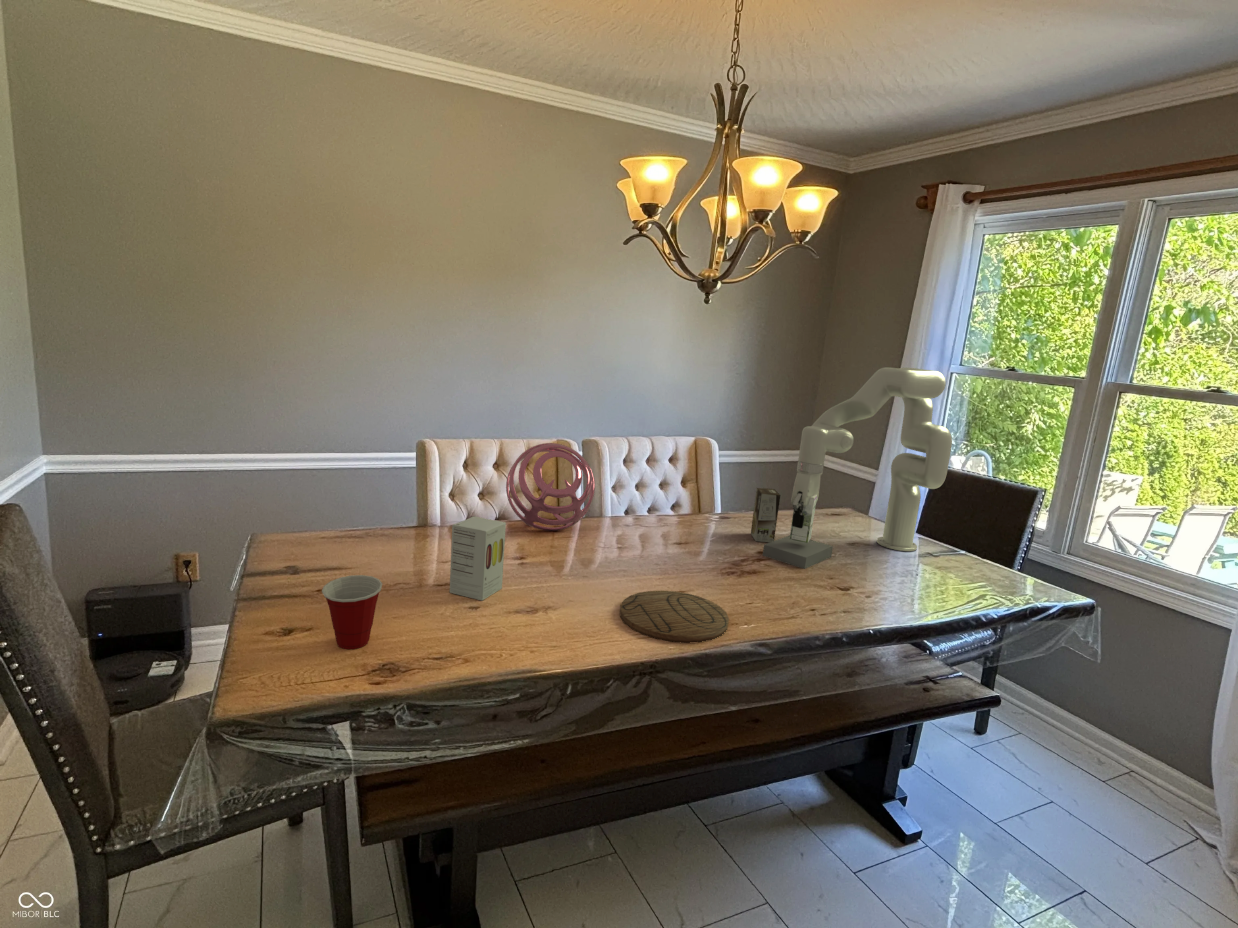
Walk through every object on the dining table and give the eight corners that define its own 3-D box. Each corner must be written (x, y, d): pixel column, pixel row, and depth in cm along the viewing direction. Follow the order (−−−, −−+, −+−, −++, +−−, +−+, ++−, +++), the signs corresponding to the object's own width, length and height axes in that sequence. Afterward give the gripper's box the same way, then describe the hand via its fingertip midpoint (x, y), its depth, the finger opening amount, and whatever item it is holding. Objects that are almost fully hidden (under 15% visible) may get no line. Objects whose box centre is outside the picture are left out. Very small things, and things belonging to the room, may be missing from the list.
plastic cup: (308, 647, 129) (308, 588, 127) (349, 626, 139) (350, 570, 137) (354, 661, 126) (355, 600, 123) (393, 638, 136) (394, 581, 133)
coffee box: (774, 543, 221) (781, 495, 218) (754, 541, 221) (761, 493, 218) (769, 534, 230) (775, 488, 227) (750, 533, 230) (756, 486, 227)
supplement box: (482, 601, 157) (485, 531, 153) (448, 593, 160) (450, 524, 156) (503, 588, 166) (506, 521, 162) (470, 580, 169) (473, 515, 165)
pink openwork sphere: (514, 451, 232) (526, 417, 208) (591, 475, 237) (612, 445, 213) (491, 527, 220) (501, 500, 196) (573, 551, 225) (593, 527, 201)
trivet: (648, 650, 141) (649, 641, 140) (603, 602, 163) (603, 594, 163) (749, 637, 151) (750, 629, 151) (693, 593, 173) (694, 586, 173)
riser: (790, 546, 221) (792, 534, 220) (831, 558, 212) (833, 546, 211) (762, 557, 208) (763, 544, 207) (804, 570, 199) (806, 557, 198)
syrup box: (811, 538, 210) (817, 493, 207) (807, 543, 205) (814, 497, 202) (792, 535, 212) (798, 490, 210) (788, 539, 207) (795, 493, 204)
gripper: (810, 462, 213) (802, 517, 217) (786, 468, 200) (778, 527, 203) (833, 467, 209) (824, 523, 212) (810, 473, 195) (801, 533, 199)
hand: (802, 524), depth 208 cm, fingers closed on syrup box, 6 cm apart
